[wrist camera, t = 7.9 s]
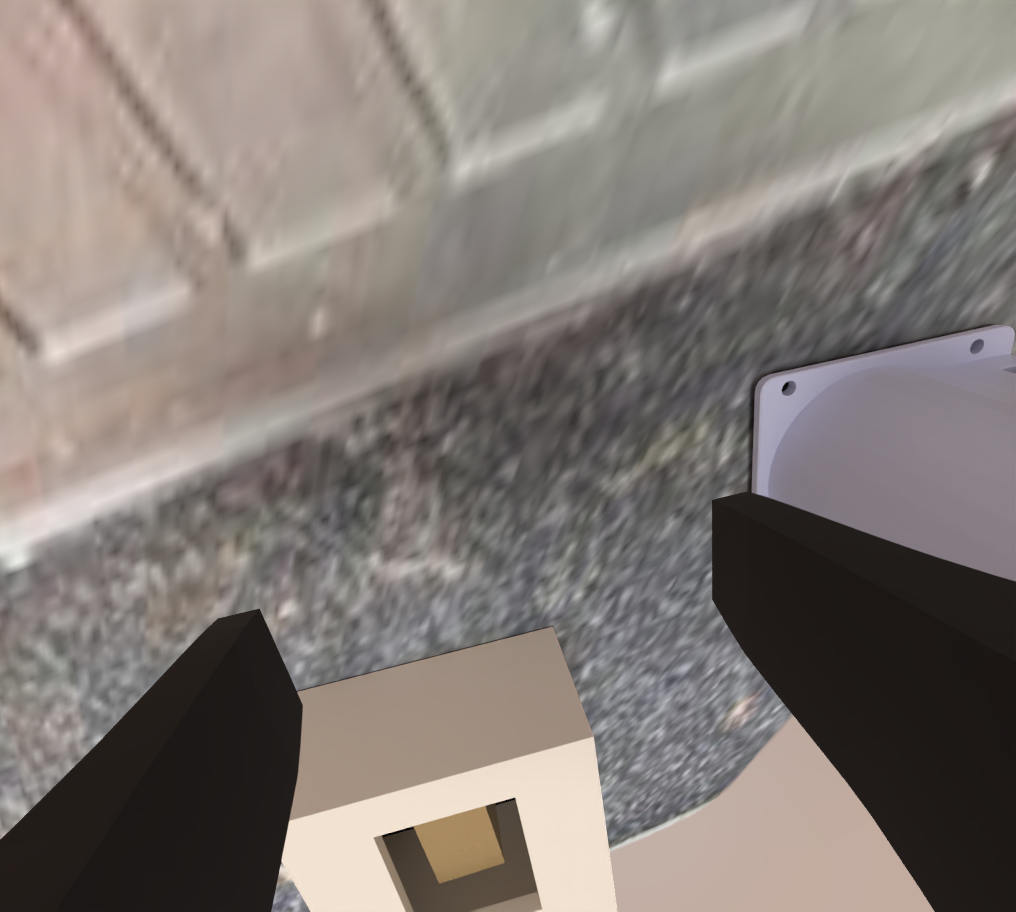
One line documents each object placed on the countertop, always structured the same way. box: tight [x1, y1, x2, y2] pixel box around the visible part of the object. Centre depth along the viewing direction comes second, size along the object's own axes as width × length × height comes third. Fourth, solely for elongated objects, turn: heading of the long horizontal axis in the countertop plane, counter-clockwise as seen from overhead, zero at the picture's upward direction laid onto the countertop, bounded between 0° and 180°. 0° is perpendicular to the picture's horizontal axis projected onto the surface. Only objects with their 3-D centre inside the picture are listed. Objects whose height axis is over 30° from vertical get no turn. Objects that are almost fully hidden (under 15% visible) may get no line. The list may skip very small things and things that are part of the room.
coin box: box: [281, 627, 617, 912], centre depth 21 cm, size 10×10×5 cm
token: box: [413, 803, 505, 884], centre depth 21 cm, size 2×4×4 cm, turn 12°
